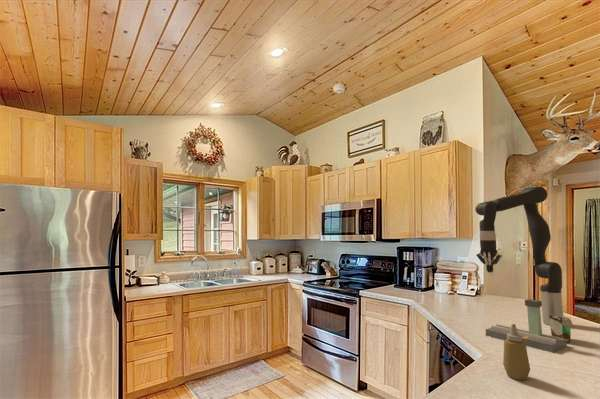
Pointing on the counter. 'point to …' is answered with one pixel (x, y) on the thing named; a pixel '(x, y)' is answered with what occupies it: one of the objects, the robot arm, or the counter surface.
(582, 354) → the counter surface
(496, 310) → the counter surface
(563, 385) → the counter surface
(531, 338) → the slider console
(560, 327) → the food container
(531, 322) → the fader tab
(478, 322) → the counter surface
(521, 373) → the squeeze bottle
